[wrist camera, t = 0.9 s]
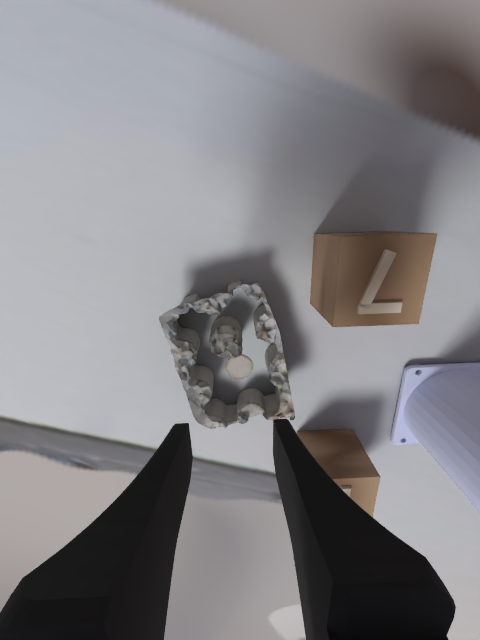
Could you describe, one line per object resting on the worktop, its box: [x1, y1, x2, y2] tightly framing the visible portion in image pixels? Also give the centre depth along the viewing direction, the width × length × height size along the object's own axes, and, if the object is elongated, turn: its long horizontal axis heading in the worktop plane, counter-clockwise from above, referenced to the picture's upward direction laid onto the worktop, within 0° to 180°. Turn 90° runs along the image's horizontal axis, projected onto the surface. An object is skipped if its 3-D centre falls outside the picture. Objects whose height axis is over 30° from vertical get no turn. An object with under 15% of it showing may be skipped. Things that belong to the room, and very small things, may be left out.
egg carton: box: [159, 281, 295, 429], centre depth 20 cm, size 11×8×4 cm
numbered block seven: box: [310, 231, 437, 327], centre depth 17 cm, size 5×5×5 cm
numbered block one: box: [297, 429, 380, 517], centre depth 23 cm, size 5×5×5 cm
